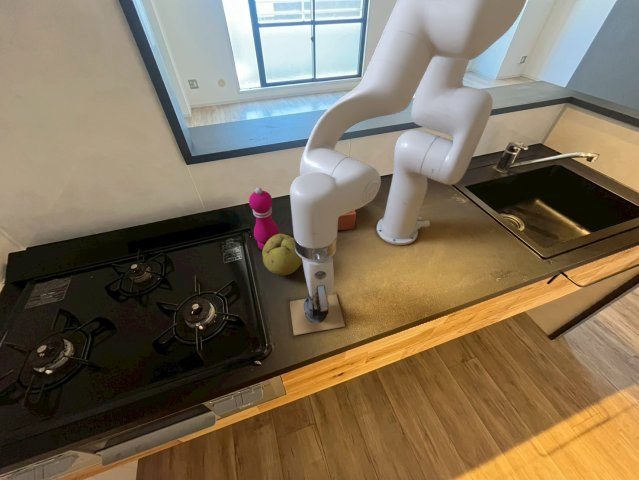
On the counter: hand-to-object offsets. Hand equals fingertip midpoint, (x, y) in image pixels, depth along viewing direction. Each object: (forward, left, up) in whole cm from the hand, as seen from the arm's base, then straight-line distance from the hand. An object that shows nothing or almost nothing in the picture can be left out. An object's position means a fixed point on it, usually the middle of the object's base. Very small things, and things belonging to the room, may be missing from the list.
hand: (316, 294), depth 62 cm
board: (0, 0, -8) cm, 8 cm away
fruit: (+6, -16, -8) cm, 19 cm away
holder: (-12, -33, -8) cm, 36 cm away
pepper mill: (+10, -26, -8) cm, 29 cm away
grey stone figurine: (0, 0, -8) cm, 8 cm away
